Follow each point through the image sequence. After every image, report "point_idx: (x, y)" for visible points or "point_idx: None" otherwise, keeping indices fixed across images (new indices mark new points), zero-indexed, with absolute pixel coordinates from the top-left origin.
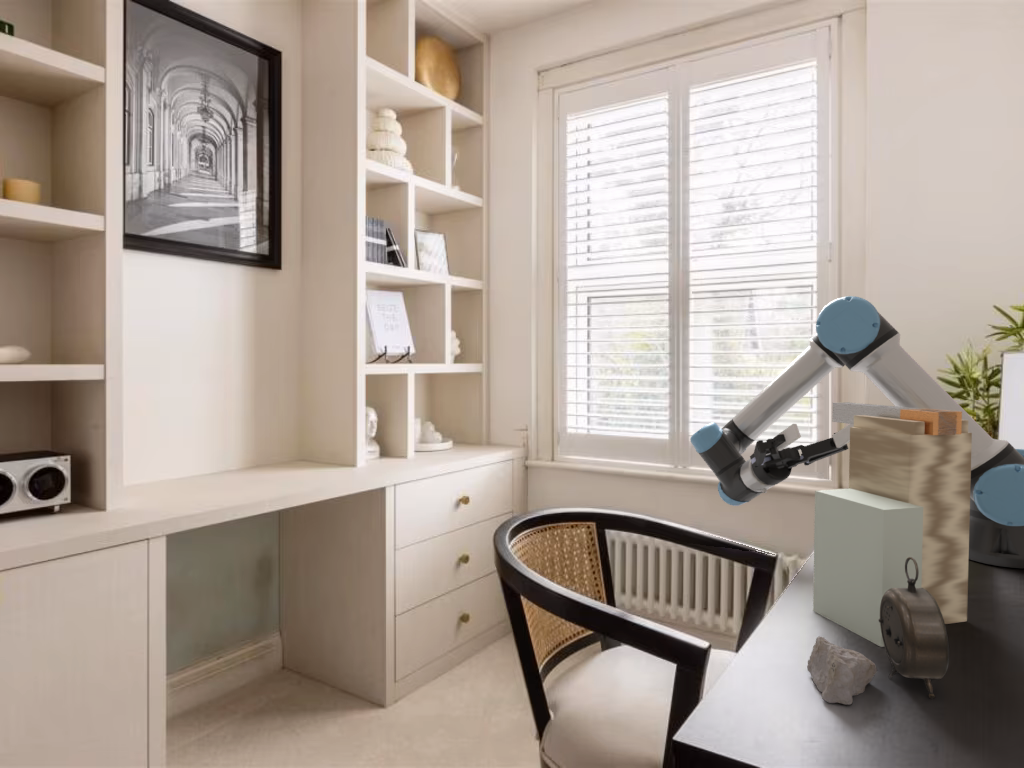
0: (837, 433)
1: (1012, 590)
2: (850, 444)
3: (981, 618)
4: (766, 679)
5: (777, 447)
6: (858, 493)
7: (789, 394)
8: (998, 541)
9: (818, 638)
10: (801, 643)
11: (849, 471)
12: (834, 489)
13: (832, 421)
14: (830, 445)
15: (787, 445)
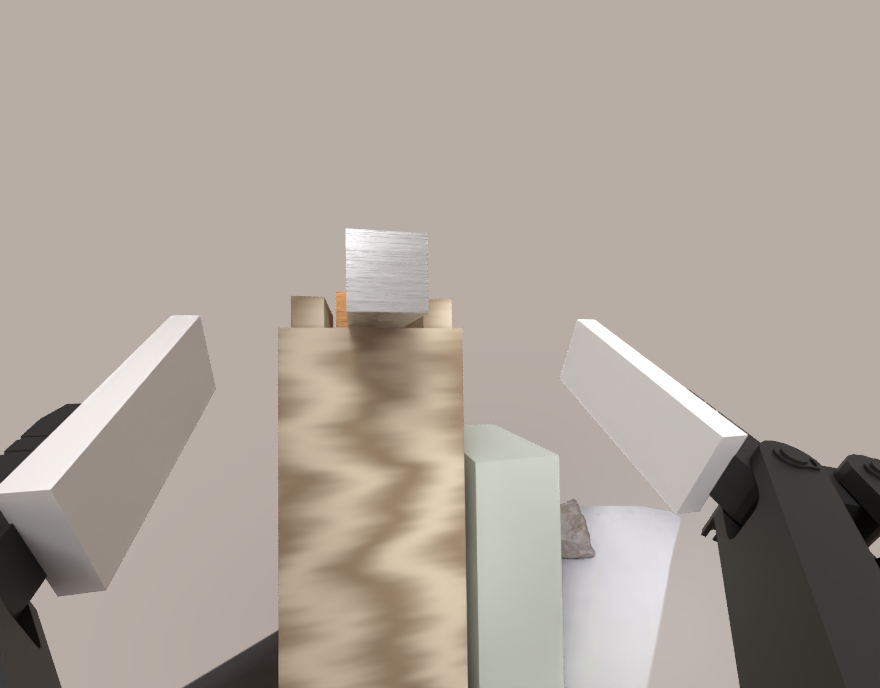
0: (113, 433)
1: None
2: (461, 369)
3: (263, 676)
4: (634, 555)
5: (702, 491)
6: (481, 448)
7: None
8: None
9: (583, 525)
10: (597, 607)
11: (463, 436)
12: (514, 459)
13: (427, 312)
14: (28, 647)
15: (625, 448)
